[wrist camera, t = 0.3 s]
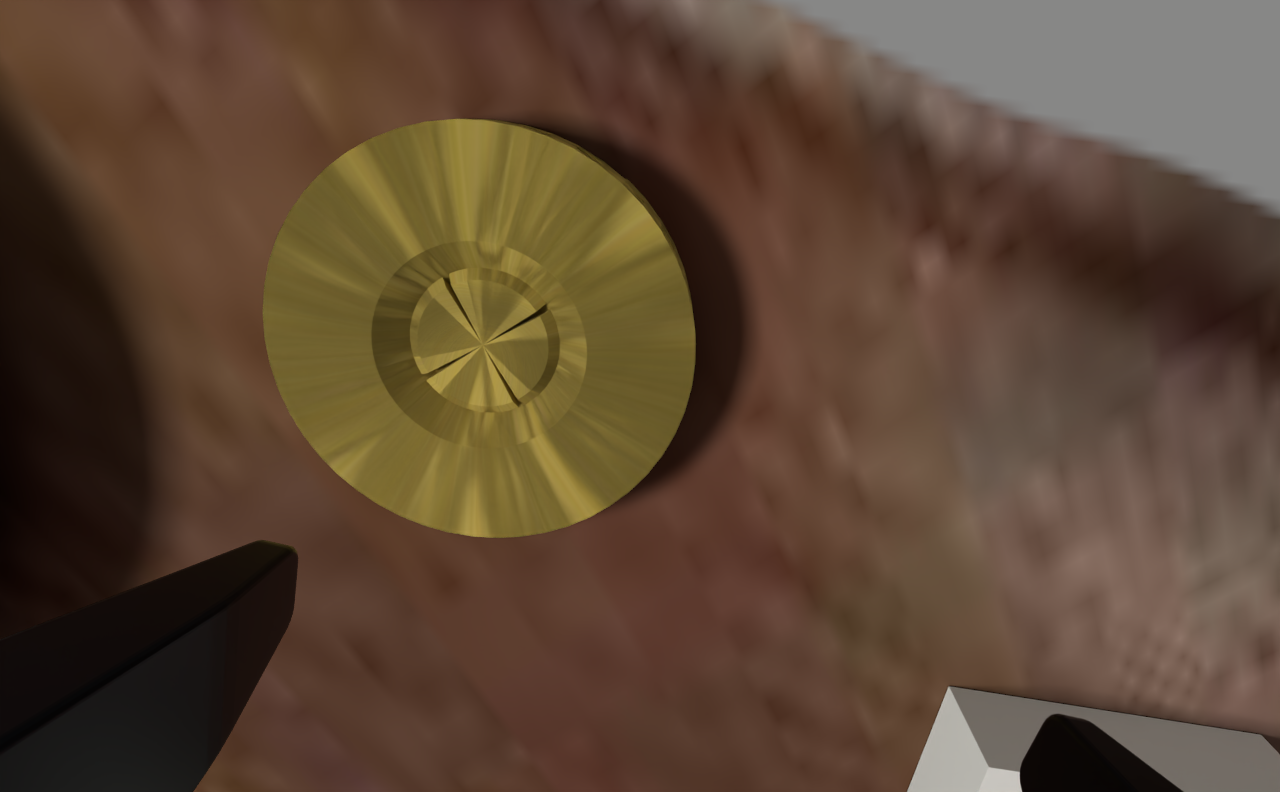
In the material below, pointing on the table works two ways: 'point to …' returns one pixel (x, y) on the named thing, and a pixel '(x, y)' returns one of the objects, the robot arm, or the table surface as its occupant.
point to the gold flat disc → (480, 327)
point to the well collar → (1181, 752)
